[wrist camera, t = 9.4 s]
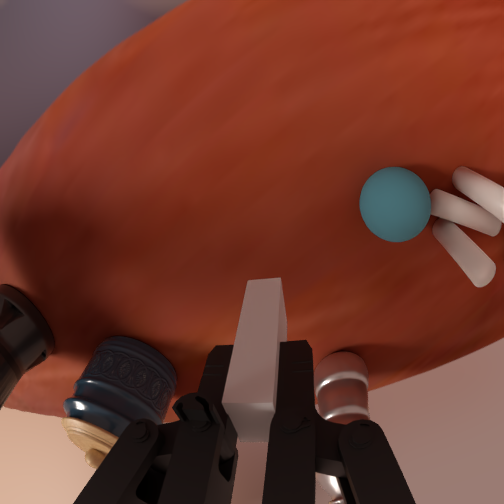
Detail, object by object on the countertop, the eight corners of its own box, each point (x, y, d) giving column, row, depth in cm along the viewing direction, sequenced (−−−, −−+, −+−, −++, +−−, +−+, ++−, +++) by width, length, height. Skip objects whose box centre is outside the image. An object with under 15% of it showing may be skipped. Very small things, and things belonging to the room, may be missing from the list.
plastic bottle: (372, 363, 35) (396, 509, 17) (328, 384, 37) (333, 524, 20) (350, 336, 33) (373, 504, 15) (302, 360, 35) (299, 518, 18)
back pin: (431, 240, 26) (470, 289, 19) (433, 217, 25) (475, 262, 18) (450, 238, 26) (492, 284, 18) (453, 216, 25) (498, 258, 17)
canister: (156, 332, 36) (101, 453, 20) (192, 393, 41) (162, 497, 26) (84, 333, 38) (25, 426, 23) (124, 389, 44) (86, 475, 29)
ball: (436, 231, 23) (378, 219, 27) (439, 164, 20) (376, 157, 24) (415, 263, 20) (347, 245, 24) (420, 182, 17) (343, 172, 21)
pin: (451, 190, 23) (500, 227, 16) (452, 166, 22) (504, 196, 15) (470, 190, 23) (521, 225, 16) (471, 166, 22) (525, 195, 15)
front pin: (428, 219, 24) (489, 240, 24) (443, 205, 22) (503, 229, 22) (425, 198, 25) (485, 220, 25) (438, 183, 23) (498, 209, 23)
